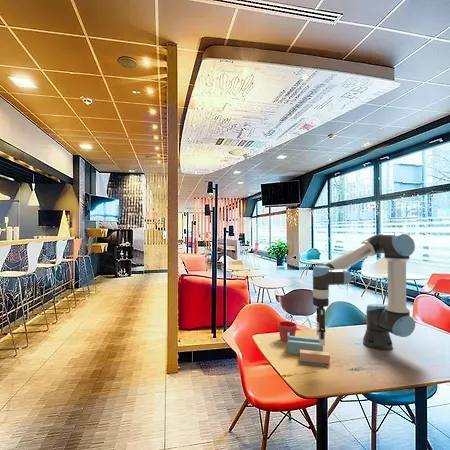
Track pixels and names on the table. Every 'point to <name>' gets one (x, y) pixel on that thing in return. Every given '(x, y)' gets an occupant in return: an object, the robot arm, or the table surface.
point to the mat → (313, 364)
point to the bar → (315, 356)
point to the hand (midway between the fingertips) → (320, 340)
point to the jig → (302, 344)
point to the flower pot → (286, 330)
